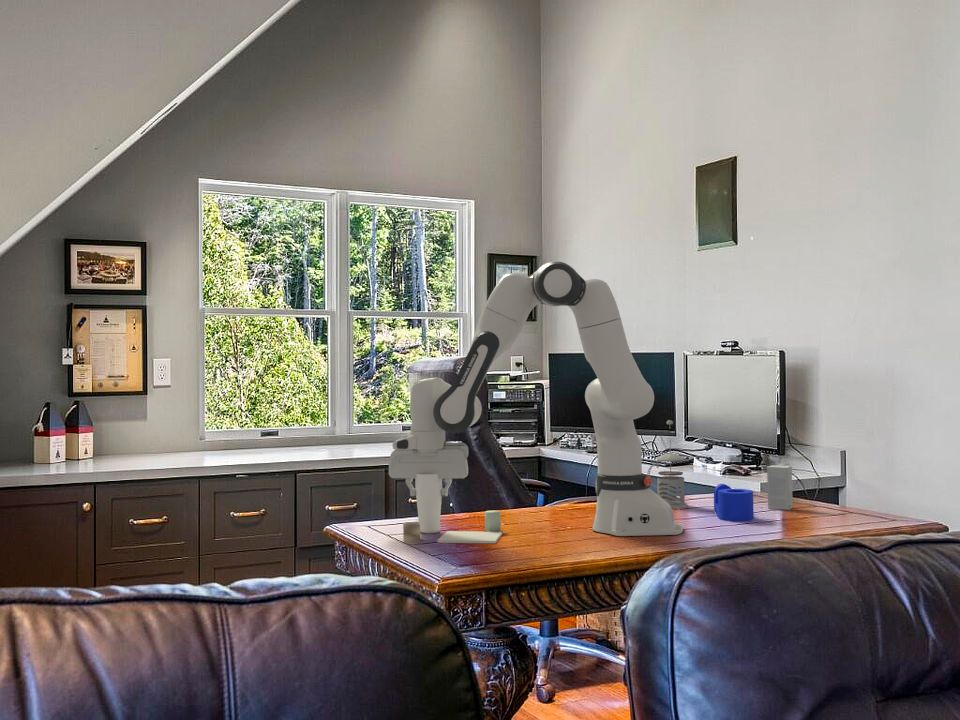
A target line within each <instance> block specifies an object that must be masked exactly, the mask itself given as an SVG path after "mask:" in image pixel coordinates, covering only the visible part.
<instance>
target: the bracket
mask: <svg viewBox="0 0 960 720" xmlns="http://www.w3.org/2000/svg"><path fill="white" fill-rule="evenodd" d="M713 510H714V512H715V514H716V516H717V519H719V520H720V521H725V522H735V523H737V522H738V523H739V522H742V523H743V522H751V521H754V519H755V517H754V513H755V512H754V490H751V489H745V488H731V487H730V486H729V485H727V484H725V483H718V484H717V485H716V486H715V487H714V488H713Z"/></svg>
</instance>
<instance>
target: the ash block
mask: <svg viewBox="0 0 960 720" xmlns="http://www.w3.org/2000/svg"><path fill="white" fill-rule="evenodd" d="M402 528H403V531H402V533H403V534H402V537H403V543H406V542H407V543H409V542H410V541H416V542H421V532H420V522H419V521H418V522H417V521H416V522H403V523H402ZM410 543H411V542H410Z"/></svg>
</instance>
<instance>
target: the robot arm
mask: <svg viewBox="0 0 960 720" xmlns="http://www.w3.org/2000/svg"><path fill="white" fill-rule="evenodd" d="M615 299H616V298H615V297H614V295H613V292H612V290H611V288H610V286H609V284H608V283H607V282H606V281H604V280H602V279H597V278H590V279H586V280H585V279H584V278H583V277H581V275H580V274H579V273H578V271H576V270H575V268H573V266H571V265H569V264H567V263H566V262H563V261H557V260H555V261H548V262H545V263H544V264H542V265H541V266H539V268H538V269H536V271H534V272H533V273H532V274H530V275H528V276H526V275H524V274H521V273H516V272H510V273H506V274H504V275H503V276H502V277H501V278H500V280H499V281H498V282H497V283H496V285H495V286H494V288H493V289H492V291H491V293H490V294H489V296H488V299H487V300H486V303H485V305H484V307H483V309H482V311H481V313H480V316H479V319H478V323H477V325H476V329H475V332H474V334H473V335H474V336H473V338H472V341H471V344H470V347H469V350H468V352H467V355H466V356H465V359H464V361H463V362H462V365H461V367H460V369H459V371H458V373H457V375H456V377H455V379H454V380H453V382H452V384H450V383H448V382H446V381H445V380H443V379H442V378H441V377H431V378H430V377H429V378H425V379H424V378H423V379H420V380H417V381H416V382H415V383H413V385H412V386H411V391H410V397H409V398H410V400H409V409H410V410H409V413H410V417H411V425H410V435H409V436H408V435H407V436H403V437H402V438H399V439H396V440H394V441H393V442H392V449H393V451H392V452H391V453H390V455H389V463H388V475H389V477H390V478H391V479H405V484H406V486H407V487H408V489H409V494H410V497H416V487H415V488H414V485H413V483H412V482H414V481H413V480H414V479H415V478H416V474H438V478H442V479H444V483H445V484H446V485H445V487H444V488H442V489H441V496H442V497H448V495H449V493H448V492H449V488H450V486H451V485H452V482H453V479H466V478H467V476H468V475H469V463H468V458H469V446H468V445H467V444H466V443H464V442H463V441H451V440H450V441H446V432H447V433H448V434H459V433H462V432H465V431H466V430H467V429H468V428H470V427H471V426H473V425H475V424H476V423H477V422H478V421H479V420H480V418H481V415H482V412H483V405H482V402H481V400H480V398H479V397H478V395H477V394H478V392H479V390H480V388H481V386H482V384H483V382H484V380H485V378H486V376H487V374H488V372H489V370H490V368H491V366H493V363H495V361H496V360H497V359H498V358H499V357H500V356H502V355H503V354H504V353H506V352H507V351H509V350H510V348H512V346H513V345H514V344H515V343H516V341H517V340H518V337H519V336H520V334H521V332H522V331H523V329H524V327H525V324H526V322H527V320H528V317H529V315H530V313H531V312H532V310H533V309H534V308H535V307H536V306H537V305H545V306H550V307H560V306H567V307H569V309H570V310H571V311H572V313H573V316H574V319H575V324H576V326H577V330H578V335H579V337H580V338H579V339H580V343H581V346H582V350H583V354H584V357H585V359H586V362H588V363H589V365H590V367H591V369H592V370H593V372H594V373H595V376H596V378H595V379H593V380H592V381H591V382H590V383H588V385H587V387H586V389H585V392H584V399H585V403H586V405H587V407H588V408H589V411H590V415H591V420H592V424H593V429H594V433H595V439H596V450H597V451H596V453H597V454H596V456H597V473H596V474H595V493H596V496H597V497H596V508H595V516H594V520H593V524H592V527H591V529H592V530H593V531H595V532H597V533H602V534H608V535H613V536H616V537H630V536H633V537H634V536H636V537H637V536H638V537H639V536H676V535H680V534H682V533H683V532H684V526H683V525H682V524H681V523H679V522H676V521H675V518H674V517H675V516H674V511H673V508H671V506H670V505H669V503H668V502H666V501H665V500H664V499H663V498H661V497H660V496H659V495H657V492H655V491H654V490H652V489H651V484H652V483H653V480H652V478H651V476H650V477H649V475H646V474H645V473H643V467H642V466H643V464H642V463H643V461H642V442H641V439H640V438H639V436H638V433H637V431H636V427H635V422H634V420H637V419H640V418H642V417H644V416H646V415H647V414H648V413H650V411H651V410H652V408H653V406H654V402H655V393H654V390H653V387H652V386H651V385H650V384H649V383H648V382H647V380H646V379H645V378H644V376H643V375H642V372H641V370H640V368H639V366H638V364H637V362H636V360H635V359H634V356H633V354H632V352H631V350H630V346H629V344H628V341H627V336H626V333H625V329H624V325H623V321H622V317H621V315H620V311H619V306H618V304H617V302H616V300H615ZM652 485H653V484H652Z"/></svg>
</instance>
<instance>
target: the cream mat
mask: <svg viewBox="0 0 960 720" xmlns="http://www.w3.org/2000/svg"><path fill="white" fill-rule="evenodd" d="M502 535H503V531H501V532H485V531H475V530H473V531H472V530H471V531H469V530H466V531H462V530H461V531H460V530H455V531H454V530H447V531H446V532H444V533H443V534H442V535H441V536H440V537H439V538H438V539H437V543H439V544H440V543H441V544H496V543H497V542H498V541H499V539H501V537H502Z"/></svg>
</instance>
